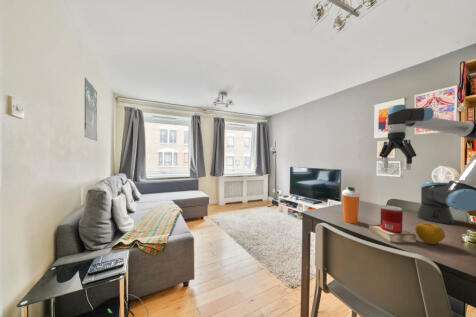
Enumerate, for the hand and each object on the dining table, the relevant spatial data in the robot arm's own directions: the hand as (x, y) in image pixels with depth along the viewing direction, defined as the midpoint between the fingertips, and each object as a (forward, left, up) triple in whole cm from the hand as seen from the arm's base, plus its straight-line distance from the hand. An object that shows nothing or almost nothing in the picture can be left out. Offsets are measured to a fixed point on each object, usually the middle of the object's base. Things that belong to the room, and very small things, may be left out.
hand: (395, 168), depth 101 cm
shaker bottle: (+25, -2, -32) cm, 40 cm away
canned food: (+18, +17, -29) cm, 38 cm away
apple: (+7, +24, -32) cm, 40 cm away
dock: (+18, +17, -32) cm, 40 cm away
